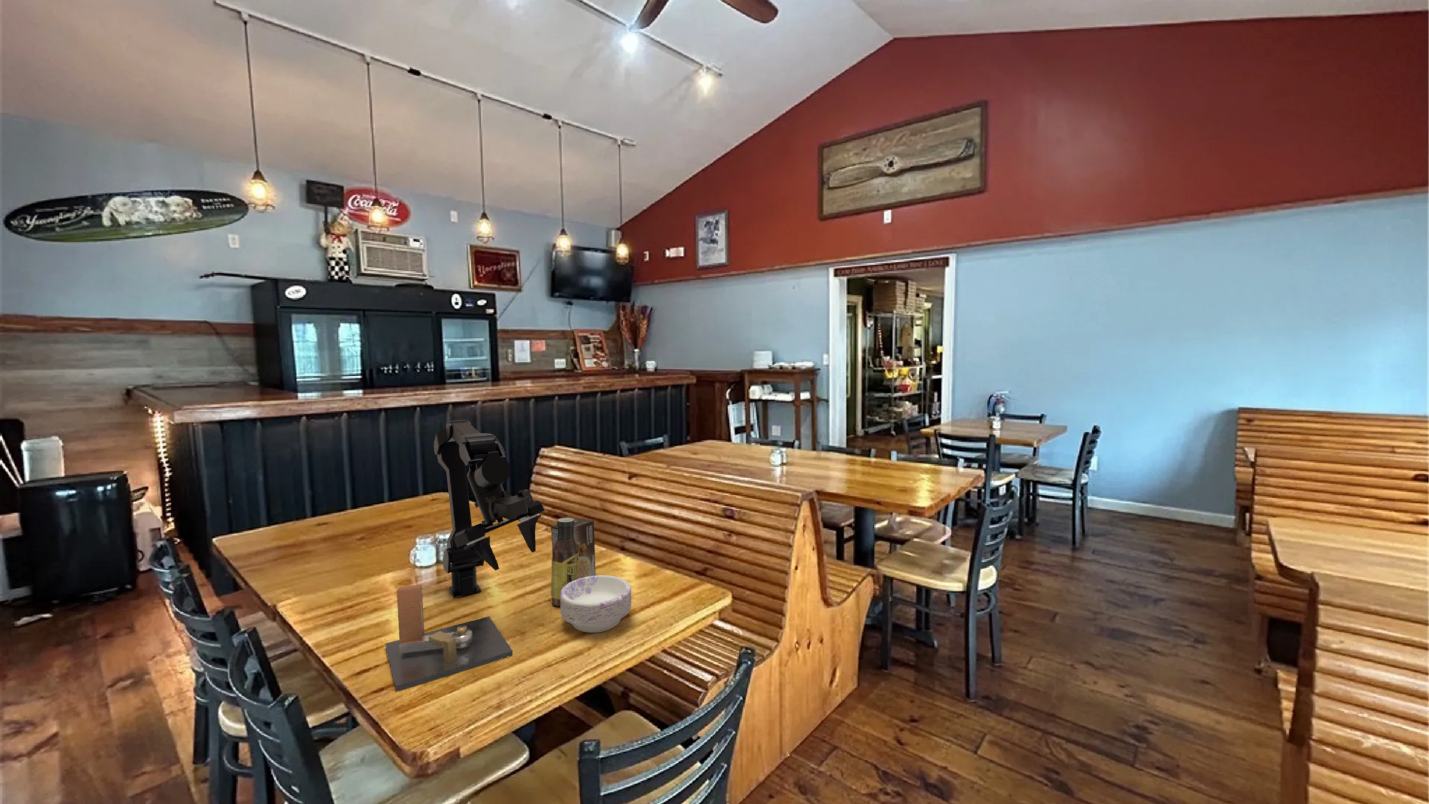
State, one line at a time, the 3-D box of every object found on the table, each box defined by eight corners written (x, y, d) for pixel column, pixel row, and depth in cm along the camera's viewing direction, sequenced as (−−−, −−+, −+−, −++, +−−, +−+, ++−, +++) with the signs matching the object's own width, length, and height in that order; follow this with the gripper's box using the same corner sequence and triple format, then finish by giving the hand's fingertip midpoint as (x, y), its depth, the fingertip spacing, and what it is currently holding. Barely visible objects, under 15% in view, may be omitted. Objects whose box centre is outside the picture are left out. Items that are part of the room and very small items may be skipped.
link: (473, 636, 115) (470, 577, 114) (470, 645, 111) (468, 584, 110) (403, 645, 111) (400, 585, 110) (398, 655, 108) (395, 592, 107)
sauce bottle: (571, 609, 130) (571, 524, 129) (546, 606, 132) (546, 522, 130) (583, 597, 137) (583, 517, 135) (559, 595, 138) (559, 515, 137)
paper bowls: (618, 643, 115) (617, 605, 114) (548, 637, 118) (547, 600, 117) (640, 609, 130) (640, 576, 129) (578, 605, 133) (577, 572, 132)
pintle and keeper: (471, 645, 114) (470, 621, 114) (465, 665, 107) (464, 640, 107) (434, 650, 113) (432, 626, 112) (425, 671, 105) (424, 645, 105)
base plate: (385, 648, 114) (385, 643, 114) (489, 620, 125) (489, 616, 125) (396, 691, 99) (396, 686, 99) (512, 655, 111) (512, 650, 110)
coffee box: (578, 575, 151) (577, 516, 149) (596, 580, 147) (595, 520, 146) (552, 587, 143) (550, 525, 141) (570, 593, 139) (568, 529, 138)
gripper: (467, 496, 108) (497, 572, 107) (545, 469, 123) (572, 535, 122) (441, 510, 114) (469, 582, 113) (518, 483, 129) (543, 546, 128)
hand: (516, 560), depth 119 cm, fingers open, 9 cm apart
